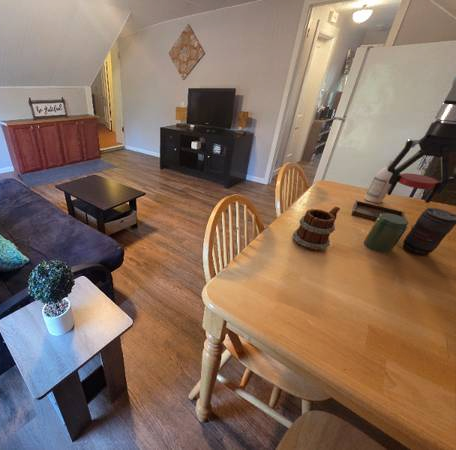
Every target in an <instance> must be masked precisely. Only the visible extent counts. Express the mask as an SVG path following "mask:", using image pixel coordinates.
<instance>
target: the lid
mask: <svg viewBox="0 0 456 450" xmlns="http://www.w3.org/2000/svg"><path fill="white" fill-rule="evenodd" d="M400 174H401V177H400V179H399V180H398V182H397V183H399V184H401V185H403V186H405V187H409V188H413V189H419V190H431V189H434V187H435V186H436V184H437V183H438V181H437V180H438V179H436V178H433V177H431V176H427V175H424V174H417V173H408V172H407V173H405V172H404V173H400Z"/></svg>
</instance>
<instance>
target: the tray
mask: <svg viewBox="0 0 456 450" xmlns="http://www.w3.org/2000/svg"><path fill="white" fill-rule="evenodd" d="M383 213H389V214H394V215H398V216H400V217H403V218H405V219H406V217H405V216H406V215H405V211H402V210H398V209H394V208H389V207H385V206H381V205H377V204H372V203H369V202H363V201H359V200H355V201H354V203H353V208H352V211H351V216H354V217H357V218H362V219H366V220H369V221H373V222H375V221H376V219H377V218H378V217H379V216H380V214H383Z"/></svg>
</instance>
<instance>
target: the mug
mask: <svg viewBox="0 0 456 450" xmlns="http://www.w3.org/2000/svg"><path fill="white" fill-rule="evenodd" d="M340 210H341V208H340V207H338V206H334V207H333V208H332V209H331V210H330V211H326V210H323V209H318V208H315V209H314V208H310V209H308V210H306V212H305V214H304V215H303V216H302V217H301V218H300V219H299V224H300V225H299V226H298V228H297V229H295V230H294V232H293V233H292V238H293V239H292V240H293V242H294V243H295V245H297V246H298V247H299V246H300V248H302V249H304V250H307V251H310V252H322V251H325V250H326V249H328V247H329V246H331V243H330V242H331V241H330V235H331V234H332V233H334V231H336V225H335V222H336V219H337V216H338V215H337V214H338V213H339V211H340Z"/></svg>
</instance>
